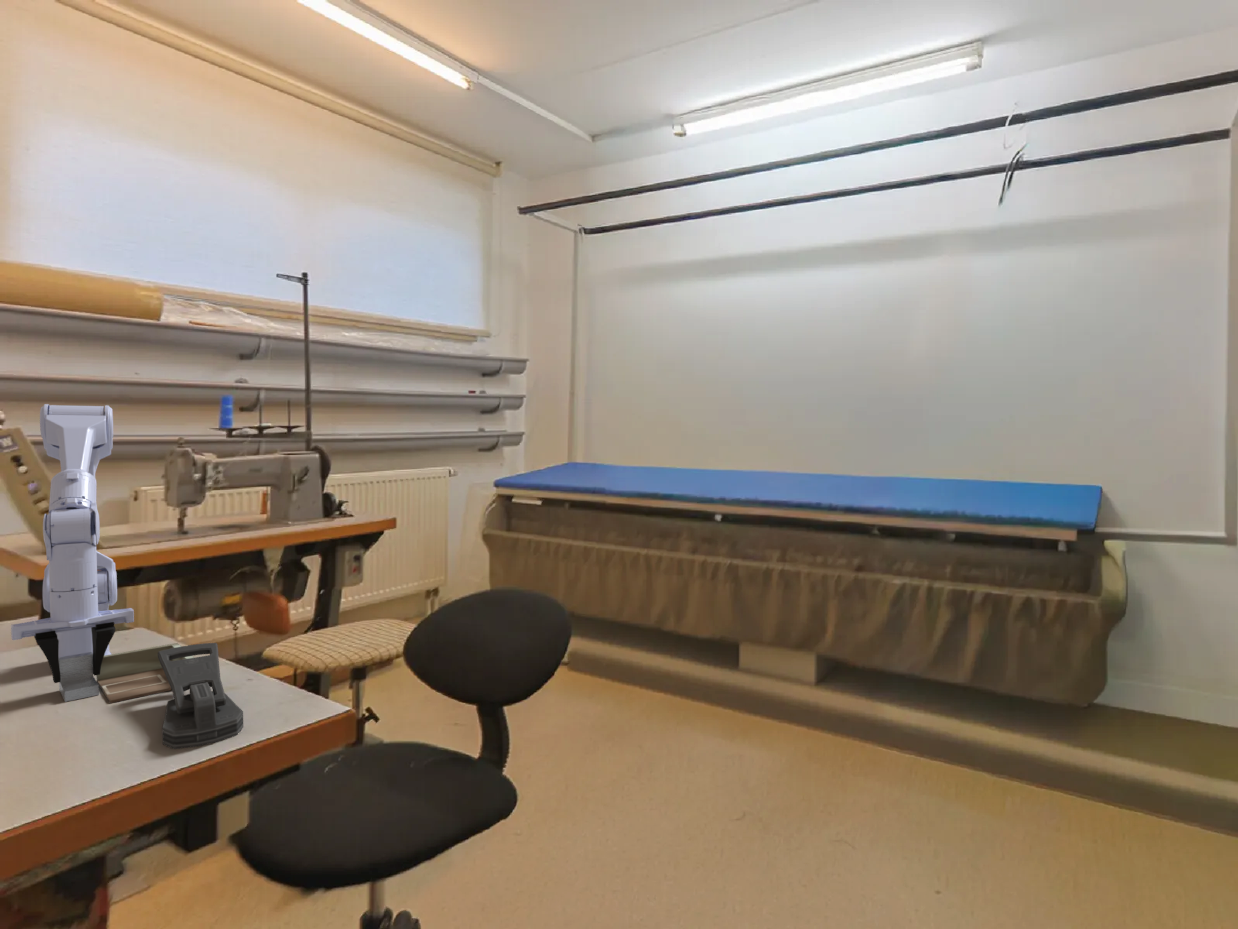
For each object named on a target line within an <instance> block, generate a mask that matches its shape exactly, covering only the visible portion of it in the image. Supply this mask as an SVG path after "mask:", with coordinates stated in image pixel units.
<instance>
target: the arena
mask: <svg viewBox="0 0 1238 929" xmlns="http://www.w3.org/2000/svg"><path fill="white" fill-rule="evenodd" d="M181 646H182V645H180V643H178V642H174V643H169V644H165V645H164V644H163V645H158V646H153V647H152V646H151V647H145V648H139V649H135V650H130V651H122V652H117V653H111V655H105V656H104V657H103V661H102V665H101V670H100V675H96V681H97V683H98V684H99V689H100V690H101V691H102V693H103V695H104V696H105V698H106V699H107V701H108V702H109V704H114V703H119V702H122V701H123V702H124V701H128V700H133V699H136V698H142V697H146V696H151V695H157V694H160V693H166V692H169V691H172V689H171V687H170V685H169V682H168V680H167V677H166V675H165V673H164V670H163V668H162V666H161V664H160V661H159V659H158V652H159V651H163V650H167V649H171V648H176V647H181ZM189 658H195V657H194V656H188V657H182V658H176V659H172V660H170V661H176V660H183V659H189Z"/></svg>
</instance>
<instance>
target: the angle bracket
mask: <svg viewBox="0 0 1238 929" xmlns="http://www.w3.org/2000/svg"><path fill="white" fill-rule="evenodd" d="M59 668H60V678H61V680H60V682H58V685H59V686H58V687H59V692H60V695H61V697H62V699H63V701H64V703H67V702H71V701H75V700H79V699H86V698H89V697H94V696H95V697H96V696H99V695H100V686H99V684H98V683H97V679H96V677H94V674H93V654H92V653H91V652H88V653H82V654H76V655H71V656H65V657H59Z"/></svg>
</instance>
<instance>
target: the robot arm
mask: <svg viewBox="0 0 1238 929" xmlns="http://www.w3.org/2000/svg"><path fill="white" fill-rule="evenodd" d="M113 411H114V410H113V408H112V407H110V405H109V404H106V405H60V404H59V405H58V404H49V403H44V404H43V405H42V406H41V407H40V409H39V428H40V431H39V432H40V436H41V439H42V444H43V449H44V450H45V451H46V456H48V457H50V458H53V459H56V460H58V461H59V463H60V471H59V472H57V473H56V474H55V475H54V476H53V477H52V478H51V480H50V490H49V502H48V503H49V504H48V513H44V515H43V519H42V535H43V536H42V537H43V542H44V546H45V551H46V552H45V553H46V554H45V556H46V561H48V564H47V565H46V567H45V568H44V572H43V576H44V577H43V580H42V606H43V609H44V610H45V611H47V613H49V614H50V617H47V618H42V619H41V618H40V619H37V620H31V621H26V622H21V623H14V624H11V625H10V631H11V632H10V634H11V635H10V636H11V640H12V641H17V640H22V639H23V638H29V637H30V638H31V637H33V638H34V639H35V642H36V644H37V645H38V646H39V649H40V650H41V651H42V653H43V655H44V656H45V658H46V659H47V662H48V664H49V668H50V671H51V674H52V681H53V683H54V684H57V683H58V684H59V682H60V680H61V678H60V668H59V657H65V656H71V655H76V654H82V653H88V652H91V653H92V654H93V677H94V676H97V675H100V670H101V665H102V661H103V657H104V656H105V655H111V654H112V652H111V651H110V643H111V640H112V639H113V637H114V635H115V632H116V627H115V625H118V624H124V623H125V624H128V623H129V624H130V623H134V622H135V617H134V616H135V613H134V612H135V611H134V608H132V607H128V608H120V609H112V610H111V609H109V607H110V606H114V605H115V604H116V602H117V601H118V579H117V578H118V577H117V575H118V573H117V571H116V568H117V567H116V566H117V565H116V562H114V559H113V558H111V557H109V556H107V555H106V554H103V553H101V552H99V551H98V550H97V546H98V544H99V541H100V535H101V531H100V530H101V528H100V527H101V526H100V525H101V524H100V513H99V511H98V506H97V505H98V504H97V490H98V488H97V487H98V486H97V484H98V482H97V478H96V472H97V469H98V465H99V463H100V460H102V459H105V458H106V457H109V456H111V455H112V450H113V447H114V444H113V443H114V440H113V438H114V413H113Z"/></svg>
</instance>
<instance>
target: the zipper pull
mask: <svg viewBox="0 0 1238 929" xmlns="http://www.w3.org/2000/svg"><path fill="white" fill-rule="evenodd" d="M180 646H181V647H176V648H171V649H167V650H163V651H159V652H158V659H159V661H160V664H161V666H162V668H163V670H164V673H165V675H166V677H167V680H168V682H169V685H170V687H171V689H172V690H171V692H172V696H173V699H169V700H167V704H166V707H165V708H166V709H165V713H164V720H163V724H162V727H161V728H162V745H164V746H166V747H167V748H168V747H169V748H171V749H172V750H177V749H186V748H187V749H188V748H195V747H196V748H197V747H202V746H206V745H210V744H215V743H219V742H221V741H224V740H228V739H230V738H233V737H236V736H238V735H239V734H238V733H241V731H242V729H243V728H244V711H243V710H242V709H241V708H240V706H238V705H237V704H236V703H235V701H233V700H232V699H231V698H230V696H228V694H226V693H225V691H224V687H223V683H222V679H221V671H220V669H221V668H220V658H219V648H218V643H217V642H206V643H197V644H190V645H189V644H188V645H183V646H182V645H180ZM200 655H201V656H200ZM202 655H203V656H202ZM188 656H193V657H194V656H197V657H194V658H189V659H183V660H176V661H170V660H172V659H176V658H182V657H188ZM188 690H189V693H187V694H185V692H186V691H188ZM232 736H233V737H232Z"/></svg>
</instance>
